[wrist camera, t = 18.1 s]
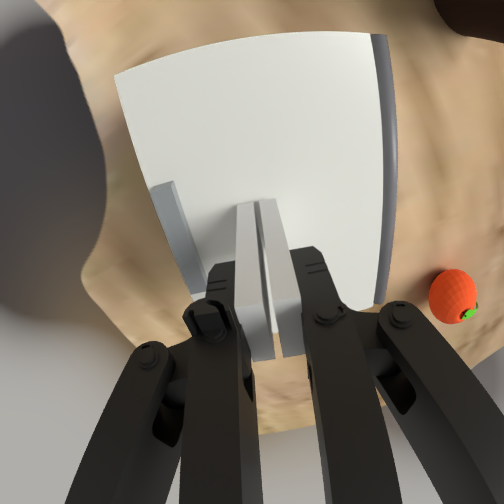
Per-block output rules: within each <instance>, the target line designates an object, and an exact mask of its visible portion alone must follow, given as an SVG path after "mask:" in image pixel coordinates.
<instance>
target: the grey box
mask: <svg viewBox="0 0 504 504" xmlns="http://www.w3.org/2000/svg"><path fill="white" fill-rule="evenodd" d="M370 37H371V43H372V48H373V54H374V60H375V67H376V74H377V81H378V90H379V99H380V110H381V123H382V142H383V207H382V226H381V240H380V252H379V262H378V271H377V279H376V287H375V294H374V301H373V303H375V304H382V303H383V302H384V300H385V295H386V289H387V283H388V277H389V270H390V263H391V256H392V248H393V239H394V229H395V217H396V202H397V179H398V139H397V116H396V102H395V91H394V82H393V74H392V66H391V59H390V53H389V47H388V41H387V36H386V35H382V34H370Z"/></svg>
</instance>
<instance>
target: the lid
mask: <svg viewBox="0 0 504 504" xmlns="http://www.w3.org/2000/svg"><path fill="white" fill-rule="evenodd" d="M114 79H115V83H116V87H117V91H118V94H119V98H120V102H121V105H122V109H123V113H124V116H125V120H126V123H127V126H128V130H129V133H130V136H131V140H132V143H133V146H134V149H135V152H136V155H137V158H138V161H139V164H140V167H141V170H142V173H143V176H144V179H145V182H146V185H147V188H148V191H149V193H150V196H151V199H152V202H153V204H154V207H155V210H156V212H157V215H158V218H159V220H160V223H161V226H162V228H163V231H164V233H165V236H166V238H167V241H168V243H169V246H170V248H171V251H172V253H173V255H174V258H175V260H176V263H177V265H178V267H179V270H180V272H181V274H182V277H183V279H184V281H185V284H186V286H187V288H188V290H189V293H190V295H191V297H192V299H193V301H194V302H195V301H197V300H198V299H202V298H205V294H206V287H207V280H208V273H209V272H210V270H211V269H212V267H213V266H214V264H217V263H223V262H229V261H234V260H235V259H236V226H237V205H240V204H246V203H251V202H253V203H254V208H255V213H256V217H257V222H258V227H259V232H260V237H261V242H262V247H263V253H264V261H265V270H266V279H267V287H268V296H269V305H270V314H271V323H272V332H273V333H277V332H278V327H277V322H276V317H275V312H274V307H273V302H272V294H271V286H270V278H269V271H268V263H267V255H266V248H265V240H264V233H263V225H262V218H261V211H260V203H259V201H262V200H267V199H273V198H275V199H276V202H277V206H278V210H279V213H280V217H281V221H282V225H283V228H284V232H285V236H286V240H287V244H288V248H289V250H292V249H298V248H303V247H309V246H314V247H315V248H317V249H318V250H319V251H320V252H322V255H323V257H324V260H325V263H326V264H327V267H328V270H329V272H330V274H331V277H332V279H333V282H334V285H335V287H336V290H337V292H338V295H339V298H340V299H341V301H342V302H343V303H344V304H346V305H347V307H349V308H350V309H352V310H355V311H360V310H363V309H366V308H370V307H373V301H374V294H375V287H376V279H377V271H378V262H379V252H380V240H381V226H382V207H383V142H382V123H381V110H380V99H379V90H378V81H377V74H376V67H375V60H374V54H373V48H372V43H371V37H370V33H359V32H335V31H317V32H293V33H280V34H269V35H261V36H253V37H246V38H240V39H234V40H229V41H223V42H218V43H214V44H209V45H205V46H201V47H197V48H193V49H189V50H185V51H181V52H178V53H175V54H171V55H168V56H165V57H162V58H159V59H155V60H153V61H150V62H147V63H144V64H141V65H139V66H136V67H133V68H131V69H128V70H126V71H123V72H121V73H118V74H116V75H114Z"/></svg>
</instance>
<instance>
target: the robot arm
mask: <svg viewBox="0 0 504 504" xmlns="http://www.w3.org/2000/svg"><path fill="white" fill-rule="evenodd" d="M259 203H260V211H261V218H262V225H263V233H264V240H265V248H266V255H267V263H268V271H269V278H270V286H271V294H272V302H273V307H274V312H275V317H276V322H277V327H278V332H279V337H280V342H281V347H282V353H283V358H284V357H290V356H296V355H302V354H306V358H307V369H308V379H309V381H310V387H311V394H312V400H313V407H314V414H315V420H316V427H317V434H318V442H319V450H320V457H321V465H322V474H323V482H324V491H325V501H326V504H402V498H401V493H400V487H399V482H398V477H397V472H396V467H395V463H394V458H393V453H392V449H391V445H390V441H389V436H388V433H387V428H386V425H385V421H384V417H383V413H382V409H381V406H380V402H379V399H378V395H377V392H376V388H377V390H378V391H379V393H380V395H381V396H382V398H383V400H384V401H385V403H386V404H387V406H388V408H389V409H390V411H391V413H392V414H393V416H394V418H395V419H396V421H397V423H398V424H399V426H400V428H401V429H402V431H403V433H404V435H405V436H406V438H407V440H408V441H409V443H410V445H411V446H412V448H413V450H414V451H415V453H416V455H417V457H418V459H419V460H420V462H421V464H422V466H423V468H424V469H425V471H426V473H427V475H428V477H429V478H430V480H431V482H432V484H433V486H434V487H435V489H436V491H437V493H438V495H439V497H440V499H441V500H442V502H443V504H504V415H503V414H502V412H501V411H500V410H499V408H498V407H497V405H496V404H495V402H494V401H493V399H492V398H491V397H490V395H489V394H488V393H487V391H486V390H485V389H484V387H483V386H482V384H481V383H480V382H479V380H478V379H477V378H476V377H475V375H474V374H473V373H472V371H471V370H470V369H469V368H468V366H467V365H466V364H465V362H464V361H463V360H462V359H461V358H460V356H459V355H458V354H457V353H456V351H455V350H454V349H453V348H452V347H451V345H450V344H449V343H448V342H447V341H446V339H445V338H444V337H443V336H442V335H441V334H440V333H439V331H438V330H437V329H436V328H435V327H434V326H433V325H432V323H431V322H430V321H429V320H428V319H427V318H426V317H425V316H424V314H423V313H422V312H421V311H420V310H419V309H418V308H417V307H415V306H414V305H413V304H411V303H408V302H405V301H393V302H390V303H387V304H386V305H385V306H383V307H382V308H381V310H380V312H379V313H368V312H358V311H355V310H352V309H350V308H349V307H347V305H346V304H344V303H343V302H342V301H341V299H340V298H339V295H338V292H337V290H336V287H335V285H334V282H333V279H332V277H331V274H330V272H329V270H328V267H327V264H326V263H325V260H324V257H323V255H322V252H320V251H319V250H318V249H317V248H315V247H314V246H309V247H303V248H298V249H292V250H289V248H288V244H287V240H286V236H285V232H284V228H283V225H282V221H281V217H280V213H279V210H278V206H277V202H276V199H275V198H273V199H267V200H262V201H259ZM182 318H183V320H184V322H185V323H186V325H187V327H188V329H189V331H190V333H191V335H192V337H191V338H189V339H188V340H186V341H184V342H182V343H179V344H176V345H174V346H171V347H168V348H167V347H166V346H165V345H164V344H163V343H160V342H158V341H149V342H146V343H144V344H141V345H140V346H139V347H137V348H136V349H135V350H134V352H133V353H132V354H131V356H130V358H129V360H128V362H127V364H126V366H125V368H124V370H123V371H122V373H121V376H120V377H119V380H118V381H117V383H116V385H115V388H114V390H113V392H112V394H111V396H110V398H109V400H108V402H107V404H106V406H105V409H104V410H103V413H102V415H101V417H100V419H99V421H98V423H97V426H96V428H95V430H94V432H93V435H92V437H91V439H90V441H89V444H88V446H87V448H86V451H85V453H84V455H83V458H82V460H81V463H80V465H79V467H78V470H77V473H76V475H75V477H74V480H73V483H72V485H71V488H70V491H69V493H68V496H67V499H66V501H65V504H165V503H166V500H167V497H168V494H169V491H170V487H171V484H172V481H173V478H174V475H175V472H176V469H177V466H178V463H179V460H180V457H181V466H180V490H179V504H263V493H262V479H261V465H260V451H259V438H258V423H257V408H256V393H255V378H254V373H253V370H252V368H251V357H252V360H253V362H257V361H264V360H271V359H275V351H274V341H273V332H272V323H271V314H270V305H269V296H268V287H267V279H266V270H265V261H264V253H263V247H262V242H261V237H260V232H259V227H258V222H257V217H256V213H255V208H254V203H253V202H251V203H246V204H240V205H237V226H236V259H235V260H234V261H229V262H223V263H217V264H214V266H213V267H212V269H211V270H210V272H209V273H208V280H207V287H206V294H205V298H202V299H198V300H197V301H195V302H193V303H192V304H190V305H189V306H188V308H187V309H186V310H185V311H184V314H183V316H182ZM375 387H376V388H375Z"/></svg>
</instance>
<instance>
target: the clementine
mask: <svg viewBox="0 0 504 504" xmlns="http://www.w3.org/2000/svg"><path fill="white" fill-rule="evenodd" d="M476 294H477V292H476V288H475V284H474V282H473V280H472V278H471V277H470V276H469V275H467V274H466V273H465V272H463V271H461V270H458V269H450V270H447V271H444V272H443V273H441V274H439V275H438V276H437V277H436V278H435V280H434V281H433V283H432V285H431V287H430V291H429V296H428V299H429V307H430V309H431V312H432V313H433V315H434V316H435V317H436V318H437V319H438V320H440V321H441V322H443V323H447V324H455V323H459V322H462V321H463V320H465V319H468V318H470V317H471V316H473V314H474V313H475V312H476V310H477V309H478V304H477V302H476ZM475 303H476V309H475V310H473V308H474V306H475Z"/></svg>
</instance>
